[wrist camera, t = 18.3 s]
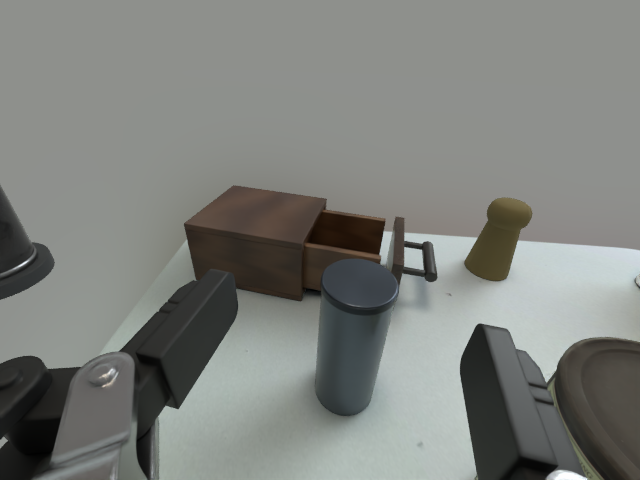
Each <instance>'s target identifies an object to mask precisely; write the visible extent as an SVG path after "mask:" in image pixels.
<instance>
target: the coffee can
mask: <svg viewBox="0 0 640 480" xmlns="http://www.w3.org/2000/svg"><path fill="white" fill-rule="evenodd" d="M546 384H547V386H548V388H547V389H548V391H550V393H551V396H552V398H553V400H554V406H555V407H556V408H557V410H558V412H559V415H560V417H561V419H562V422H563V424H564V426H565V429H566V431H567V433H568V436H569V438H570V441H571V443H572V445H573V448H574V450H575V452H576V455H577V457H578V459H579V462H580V464H581V467H582V469H583V471H584V473H585V475H586V477H587V479H588V480H640V342H637V341H632V340H627V339H621V338H611V337H598V338H589V339H584V340H581V341H579V342H577V343H575V344H573V345H572V346H571V347H569V348H568V349H567V350H566V352H565V353H564V354H563V356H562V357H561V359H560V360H559V363H558V365H557V370H556V371H555V373H554V374H553V375H552V377H551V378H550V379H549V381H548V382H547V383H546ZM475 480H478V476H476V479H475Z"/></svg>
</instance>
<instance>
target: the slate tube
mask: <svg viewBox="0 0 640 480" xmlns="http://www.w3.org/2000/svg"><path fill="white" fill-rule="evenodd" d="M320 288H321V303H320V318H319V333H318V348H317V363H316V378H315V391H316V395H317V397H318V399H319V401H320V402H321V404H322V405H323V406H324V407H325V408H326V409H328V410H329V411H331V412H333V413H335V414H338V415H342V416H350V415H355V414H358V413H360V412H361V411H363V410H364V409H365V408H366V407H367V406H368V404H369V403H370V401H371V398H372V394H373V390H374V385H375V381H376V377H377V373H378V369H379V365H380V361H381V357H382V352H383V348H384V344H385V340H386V336H387V332H388V328H389V324H390V319H391V315H392V311H393V307H394V304H395V302H396V300H397V297H398V293H399V285H398V282H397V280H396V278H395V276H394V275H393V274H392V273H391V272H390V271H389V270H387V269H386V268H385V267H383V266H381V265H380V264H377V263H375V262H372V261H369V260H364V259H344V260H340V261H337V262H334V263H332V264H331V265H329V266H328V267H327V268H326V269H325V270H324V271H323V273H322V276H321V282H320Z"/></svg>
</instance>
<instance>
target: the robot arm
mask: <svg viewBox="0 0 640 480" xmlns="http://www.w3.org/2000/svg"><path fill="white" fill-rule="evenodd" d="M37 257H38V252H37V250H36V248H35V246H34V245H32V243H31V241H30V240H29V237H28V235H27V234H26V232H25V229H24V228H23V226H22V224H21V222H20V220H19V218H18V216H17V215H16V213H15V211H14V209H13V207H12V205H11V204H10V202H9V200H8V198H7V196H6V195H5V193H4V191H3V189H2V187H1V185H0V280H3V279H6V278H8V277H11V276H13V275H15V274H17V273H19V272H21V271H23V270H24V269H26V268H27V267H29V266H30V265H31V264H32V263H34V261H35V260H36V259H37ZM237 311H238V301H237V293H236V285H235V277H234V275H233V273H230V272H225V271H220V270H215V269H210V270H208V271H207V272H206V273H205V274H204V276H203V277H202V278H201V279H200V280H199V281H194V280H193V281H191V282H190V283H188V284H186V285H185V286H183V287H181V288H179V289H178V290H177V291H176V292H175V293H174V294H173V295H172V297H171V298H170V299H169V300H168V302H166V303H165V304H164V305H163V306H162V307H161V308H160V309H159V312H156V313H155V314H154V315H153V317H152V318H151V319H150V320H149V321H148V322H147V323H146V324H145V325H144V326H143V327H142V328H141V329H140V330H139V331H138V332H137V333H136V334H135V335H134V336H133V338H132V339H131V340H130V341H129V342H128V343H127V344H126V345H125V346H124V347H123V348H122V349H121V350H120V351H119V352H110V353H106V354H103V355H100V356H98V357H96V358H94V359H92V360H91V361H89V362H88V363H86V364H85V365H84V366H82V367H76V368H75V367H74V368H58V369H47V367H46V366H45V365H44V363H43V362H42V360H41V359H39V358H38V357H35V356H23V357H18V358H14V359H11V360H8V361H6V362H3V363H1V364H0V439H2V437H3V436H4V437H5V438H6V439H7V440H8V442H6V443H5V444H4V445H3V446H2V448H1V449H0V480H159V417H158V416H159V414H160V413H161V411H162V410H163V408H164V407H165V405H166V406H169V407H173V408H176V409H179V407H180V406H181V404H182V403H183V401H184V400H185V398H186V396H187V395H188V393H189V392H190V390H191V389H192V387H193V385H194V384H195V382H196V381H197V379H198V377H199V376H200V374H201V373H202V371H203V370H204V368H205V366H206V365H207V363H208V362H209V360H210V359H211V357H212V355H213V354H214V352H215V351H216V349H217V347H218V346H219V344H220V343H221V341H222V340H223V338H224V336H225V335H226V333H227V332H228V330H229V328H230V327H231V325H232V324H233V322H234V320H235V318H236V315H237ZM460 376H461V382H462V388H463V394H464V400H465V406H466V411H467V417H468V423H469V429H470V435H471V441H472V447H473V453H474V459H475V465H476V470H477V476H478V480H588V479H587V477H586V475H585V473H584V471H583V469H582V467H581V464H580V462H579V459H578V457H577V455H576V452H575V450H574V448H573V445H572V443H571V441H570V438H569V436H568V433H567V431H566V429H565V426H564V424H563V422H562V419H561V417H560V415H559V412H558V410H557V408H556V407H555V406H554V400H553V398H552V396H551V393H550V391H548V389H547V388H548V386H547V384H546V382H545V379H544V377H543V374H542V372H541V370H540V368H539V367H538V366H537V364H536V363H535V362H534V361H533V360H532V358H531V357H530V356H529V355H528V354H527V352H526V351H522V350H518V349H516V348H515V345H514V343H513V340H512V337H511V335H510V332H509V331H508V330H507V329H505V328H500V327H495V326H490V325H485V324H478V325H477V326H476V327H475V329H474V331H473V333H472V336H471V338H470V340H469V342H468V344H467V346H466V348H465V350H464V352H463V355H462V358H461V363H460Z"/></svg>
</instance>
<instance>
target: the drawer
mask: <svg viewBox="0 0 640 480" xmlns="http://www.w3.org/2000/svg"><path fill="white" fill-rule="evenodd" d="M384 226H385V219H384V218H377V217H370V216H364V215H356V214H350V213H344V212H337V211H330V210H324V209H323V211H322V213H321V214H320V216H319V218H318V220H317V222H316V224H315V226H314V228H313V230H312V232H311V233H310V235H309V237H308V239H307V241H306V243H305V245H304V259H303V287H304V288H309V289H314V290H319V291H321V288H320V282H321V276H322V273H323V271H324V270H325V269H326V268H327V267H328V266H329V265H331V264H332V263H334V262H337V261H340V260H344V259H364V260H369V261H372V262H375V263H377V264H380V261H381V255H379V253H380V248H381V242H382V237H383V231H384ZM404 247H409V248H415V249H422V254H423V266H424V270H419V269H414V268H408V267H404ZM387 270H389V271H390V272H391V273H392V274H393V275H394V276H395V278H396V280H397V282H398V285H400V280H401V276H402V273H404V274H410V275H415V276H421V277H425V280H426V281H428V282H434V281H436V279H437V271H436V264H435V257H434V250H433V244H432V243H431V242H428V241H427V242H424V243H423V244H420V243H413V242H407V241H404V218H401V217H396V218H395V222H394V228H393V232H392V237H391V242H390V247H389V252H388V258H387ZM394 305H395V304H394ZM393 309H394V307H393Z"/></svg>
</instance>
